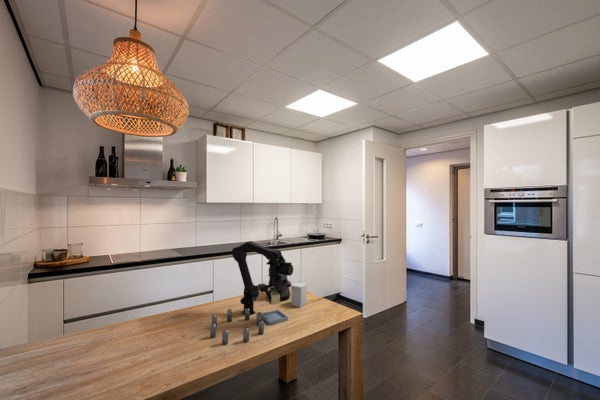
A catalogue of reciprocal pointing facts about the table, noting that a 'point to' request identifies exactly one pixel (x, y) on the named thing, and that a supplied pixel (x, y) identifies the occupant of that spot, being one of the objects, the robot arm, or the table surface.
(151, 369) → the table surface
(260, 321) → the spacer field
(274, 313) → the tray
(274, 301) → the brass nut
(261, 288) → the robot arm
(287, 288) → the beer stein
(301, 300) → the supplement box
